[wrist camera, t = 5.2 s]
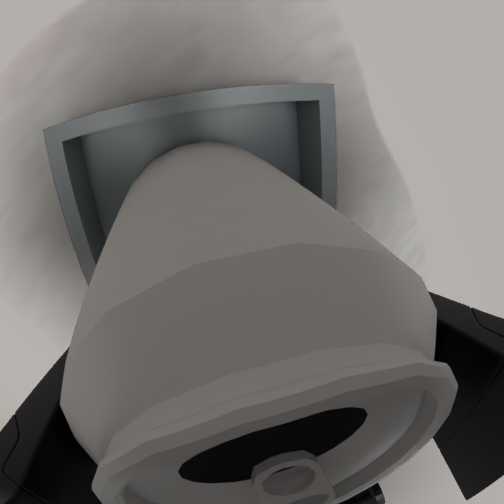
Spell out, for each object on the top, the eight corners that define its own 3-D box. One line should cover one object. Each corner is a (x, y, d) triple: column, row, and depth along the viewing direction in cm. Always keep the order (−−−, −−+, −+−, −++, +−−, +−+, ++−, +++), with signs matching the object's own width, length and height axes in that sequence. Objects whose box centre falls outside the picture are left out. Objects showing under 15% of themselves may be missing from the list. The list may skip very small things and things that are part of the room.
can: (262, 117, 12) (553, 219, 2) (296, 260, 16) (438, 460, 6) (97, 176, 12) (-64, 435, 1) (161, 309, 16) (186, 550, 5)
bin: (309, 282, 19) (330, 311, 16) (124, 320, 17) (120, 356, 14) (304, 85, 13) (333, 83, 11) (67, 123, 11) (43, 129, 9)
